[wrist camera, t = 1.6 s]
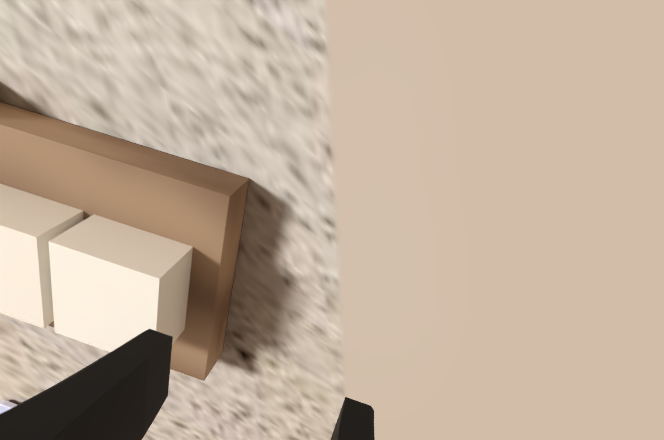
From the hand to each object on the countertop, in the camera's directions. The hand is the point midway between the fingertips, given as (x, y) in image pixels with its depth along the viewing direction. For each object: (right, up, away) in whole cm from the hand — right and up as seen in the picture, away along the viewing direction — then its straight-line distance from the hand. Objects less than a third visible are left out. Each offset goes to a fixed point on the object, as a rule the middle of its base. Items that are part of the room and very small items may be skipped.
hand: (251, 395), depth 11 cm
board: (-8, +3, +11) cm, 14 cm away
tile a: (-6, +2, +9) cm, 11 cm away
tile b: (-11, +3, +10) cm, 15 cm away
